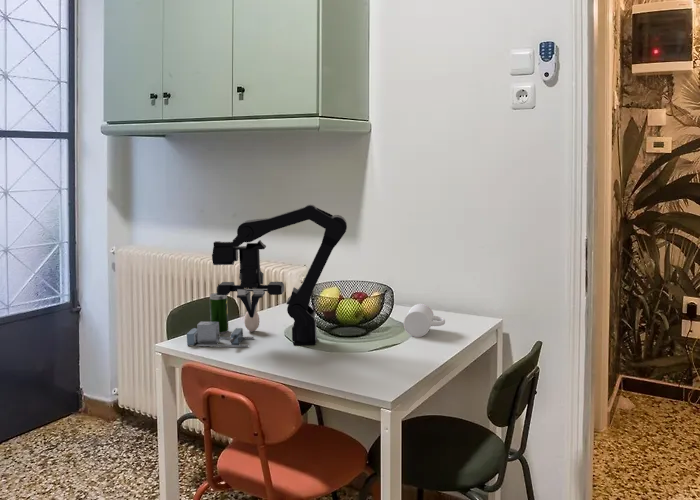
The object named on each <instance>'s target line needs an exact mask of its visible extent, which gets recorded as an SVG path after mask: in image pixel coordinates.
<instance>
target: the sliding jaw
mask: <svg viewBox="0 0 700 500" xmlns="http://www.w3.org/2000/svg"><path fill="white" fill-rule="evenodd" d="M243 330H244V329H243V327H242V328H241V327H240V328H238V327H237V328H235V329H233V331H232V332H231V333H230V336H229V337H231V339H229V342H230V345H241V342H242V341H243V340H244V339H243V337H244V331H243Z"/></svg>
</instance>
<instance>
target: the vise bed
mask: <svg viewBox="0 0 700 500" xmlns="http://www.w3.org/2000/svg"><path fill="white" fill-rule="evenodd" d="M219 337H220V340H231V336H219ZM254 339H255V337H254V336H243V340H254ZM186 344H187V345H194V346H196V348H198V347H197V346H214V347H213V348H216V347H215V346H219V347H218V348H249V344H239V345H231V344H219V343H218V344H198V333H197V328H196V327H193V328H191V329H190V330H189V331H188V332H187V333H186ZM187 345H186V346H187ZM220 346H221V347H220Z"/></svg>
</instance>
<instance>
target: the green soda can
mask: <svg viewBox="0 0 700 500" xmlns="http://www.w3.org/2000/svg"><path fill="white" fill-rule="evenodd" d="M228 308H229V307H228V295H217V292H214V293H211V294H209V314H210V315H209V317H210V318H209V319H210V321H209V322H219V335H225V334H227V333H228V332H229V310H228Z"/></svg>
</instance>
